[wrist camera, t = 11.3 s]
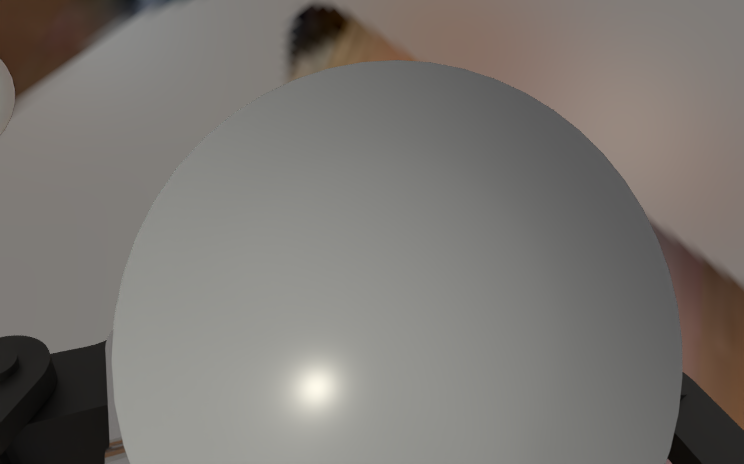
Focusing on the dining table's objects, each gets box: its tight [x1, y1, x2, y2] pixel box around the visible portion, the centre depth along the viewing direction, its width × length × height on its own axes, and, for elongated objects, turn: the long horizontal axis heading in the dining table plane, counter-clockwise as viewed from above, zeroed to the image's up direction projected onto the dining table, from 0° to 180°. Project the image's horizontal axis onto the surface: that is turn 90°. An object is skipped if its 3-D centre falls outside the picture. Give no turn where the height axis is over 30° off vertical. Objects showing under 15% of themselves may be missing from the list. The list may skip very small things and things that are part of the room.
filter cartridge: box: [112, 60, 682, 464], centre depth 11 cm, size 5×5×14 cm
